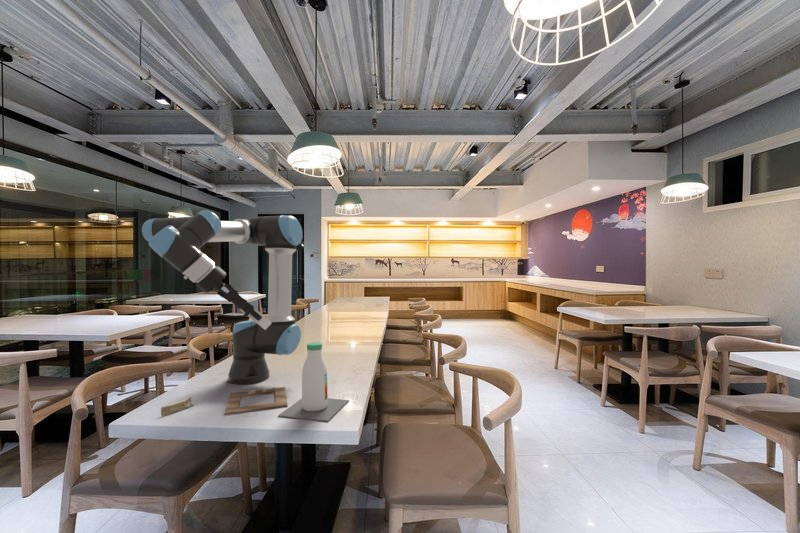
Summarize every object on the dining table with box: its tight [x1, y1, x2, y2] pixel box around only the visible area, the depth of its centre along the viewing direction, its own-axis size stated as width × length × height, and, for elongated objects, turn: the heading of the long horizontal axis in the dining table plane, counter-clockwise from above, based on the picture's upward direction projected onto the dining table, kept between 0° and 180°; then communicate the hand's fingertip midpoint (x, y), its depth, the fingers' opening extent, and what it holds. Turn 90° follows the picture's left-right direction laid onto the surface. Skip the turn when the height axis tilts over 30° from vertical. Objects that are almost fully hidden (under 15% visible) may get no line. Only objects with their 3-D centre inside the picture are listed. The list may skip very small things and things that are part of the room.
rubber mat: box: [277, 397, 350, 423], centre depth 111 cm, size 16×16×1 cm
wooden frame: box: [224, 386, 288, 416], centre depth 118 cm, size 18×18×1 cm
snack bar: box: [160, 396, 195, 418], centre depth 110 cm, size 10×2×3 cm, turn 152°
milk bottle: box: [301, 341, 328, 412], centre depth 111 cm, size 8×8×20 cm
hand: (263, 322), depth 107 cm, fingers open, 13 cm apart
